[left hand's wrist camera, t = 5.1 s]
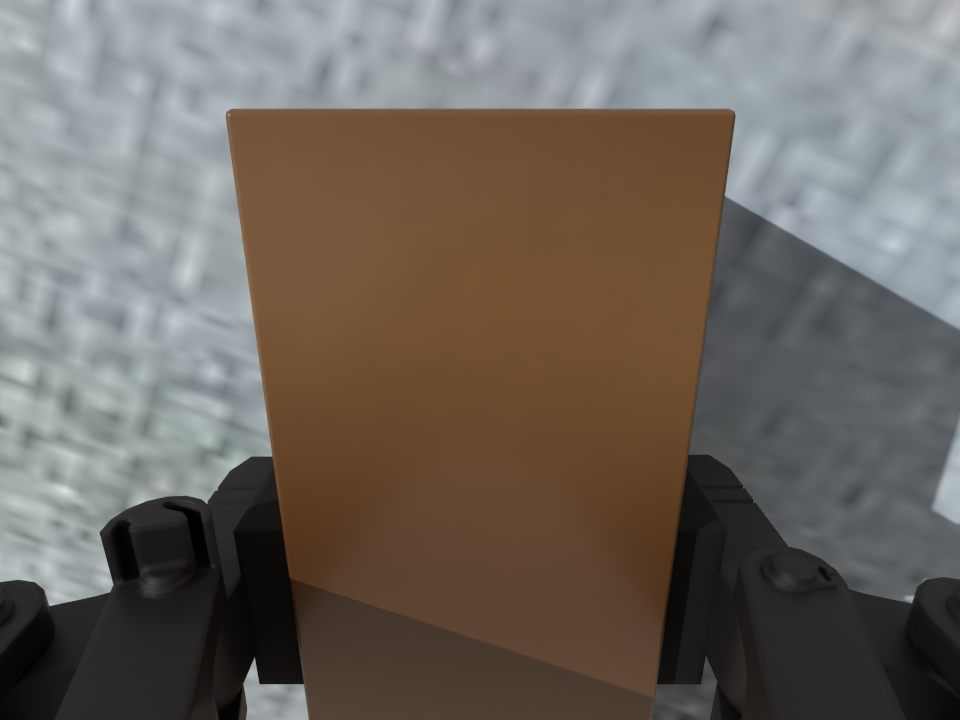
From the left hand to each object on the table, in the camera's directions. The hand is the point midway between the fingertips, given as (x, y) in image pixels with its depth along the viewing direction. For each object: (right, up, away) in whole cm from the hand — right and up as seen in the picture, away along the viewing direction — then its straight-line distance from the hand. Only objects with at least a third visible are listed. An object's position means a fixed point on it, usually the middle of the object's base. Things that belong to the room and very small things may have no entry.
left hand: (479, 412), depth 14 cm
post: (0, -26, +10) cm, 28 cm away
